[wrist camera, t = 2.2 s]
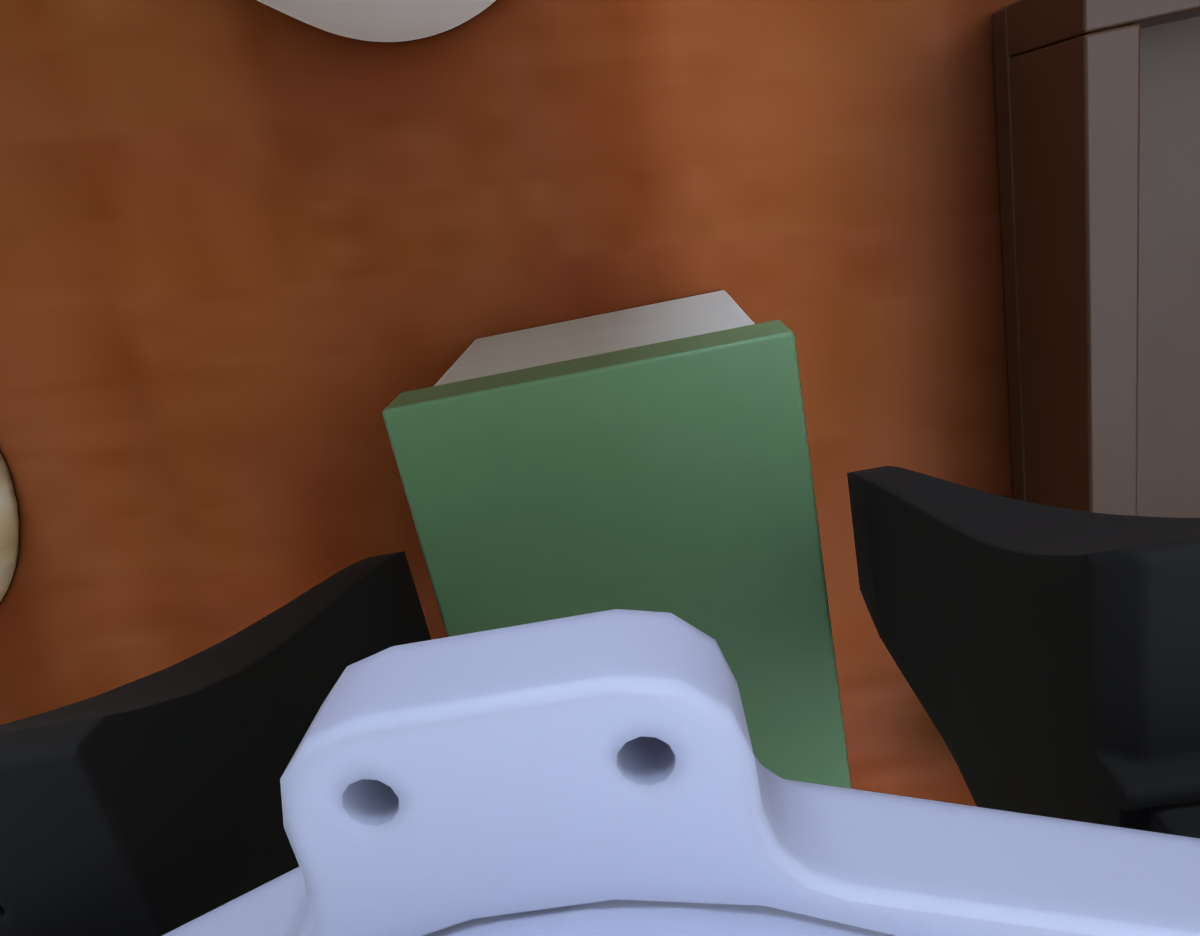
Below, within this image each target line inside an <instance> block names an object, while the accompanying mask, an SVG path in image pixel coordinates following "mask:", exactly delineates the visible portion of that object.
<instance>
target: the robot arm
mask: <svg viewBox="0 0 1200 936" xmlns="http://www.w3.org/2000/svg"><path fill="white" fill-rule="evenodd" d="M847 476H848V485H849V494H850V503H851V512H852V521H853V530H854V539H855V548H856V557H857V566H858V576H859V585H860V590H861V593H862V595H863V598H864V600H865V603H866V605H867V608H868V610H869V612H870V615H871V617H872V620H873V622H874V624H875V626H876V629H877V631H878V633H879V636H880V638H881V639H882V641H883V643H884V644H885V646H886V648H887V649H888V651H889V653H890V654H891V656H892V657H893V659H894V661H895V662H896V664H897V666H898V667H899V669H900V670H901V672H902V674H903V675H904V677H905V678H906V680H907V682H908V683H909V685H910V686H911V688H912V690H913V691H914V693H915V694H916V696H917V698H918V699H919V701H920V702H921V704H922V706H923V707H924V709H925V710H926V712H927V714H928V715H929V717H930V718H931V720H932V722H933V723H934V725H935V726H936V728H937V730H938V731H939V733H940V734H941V736H942V738H943V739H944V741H945V743H946V745H947V746H948V748H949V750H950V752H951V754H952V755H953V757H954V759H955V761H956V763H957V765H958V767H959V769H960V771H961V773H962V775H963V778H964V780H965V782H966V784H967V786H968V788H969V790H970V792H971V795H972V797H973V799H974V801H975V803H976V805H977V807H975V806H968V805H961V804H954V803H947V802H940V801H933V800H926V799H919V798H912V797H905V796H898V795H891V794H884V793H877V792H870V791H863V790H856V789H849V788H842V787H835V786H828V785H821V784H814V783H807V782H800V781H793V780H786V779H783V778H780V777H779V776H777V775H776V774H774V773H773V772H771V771H770V770H768V769H767V768H765V767H764V766H762V765H761V764H760V762H759V761H758V759H757V758H756V756H755V755H754V753H753V749H752V745H751V740H750V736H749V732H748V727H747V723H746V719H745V714H744V710H743V706H742V701H741V697H740V693H739V688H738V684H737V681H736V679H735V677H734V675H733V673H732V671H731V669H730V667H729V665H728V663H727V661H726V660H725V658H724V656H723V654H722V652H721V650H720V648H719V646H718V644H717V642H716V640H715V639H713V638H711V637H710V636H708V635H706V634H705V633H703V632H702V631H700V630H698V629H697V628H695V627H693V626H692V625H690V624H689V623H687V622H685V621H684V620H682V619H680V618H679V617H677V616H675V615H674V614H672V613H668V612H653V611H638V610H623V609H613V610H607V611H601V612H595V613H589V614H583V615H577V616H571V617H565V618H559V619H553V620H547V621H541V622H535V623H529V624H523V625H517V626H511V627H505V628H499V629H493V630H487V631H481V632H475V633H469V634H463V635H457V636H451V637H445V638H439V639H433V640H431V637H430V634H429V631H428V627H427V624H426V621H425V618H424V614H423V611H422V608H421V604H420V601H419V598H418V594H417V591H416V588H415V585H414V581H413V578H412V575H411V571H410V568H409V565H408V561H407V558H406V555H405V552H404V551H403V552H398V553H392V554H386V555H381V556H375V557H369V558H366V559H364V560H361V561H358V562H356V563H354V564H352V565H350V566H348V567H347V568H345V569H343V570H341V571H339V572H338V573H336V574H334V575H333V576H331V577H329V578H328V579H326V580H324V581H323V582H321V583H320V584H318V585H316V586H315V587H313V588H312V589H310V590H308V591H307V592H305V593H304V594H302V595H300V596H299V597H297V598H296V599H294V600H292V601H291V602H289V603H288V604H286V605H284V606H283V607H281V608H279V609H278V610H276V611H274V612H273V613H271V614H269V615H268V616H266V617H264V618H262V619H261V620H259V621H257V622H256V623H254V624H252V625H250V626H249V627H247V628H245V629H244V630H242V631H240V632H238V633H237V634H235V635H233V636H231V637H230V638H228V639H226V640H224V641H222V642H220V643H218V644H216V645H214V646H212V647H210V648H208V649H207V650H204V651H202V652H200V653H198V654H196V655H194V656H192V657H190V658H188V659H186V660H183V661H181V662H179V663H177V664H175V665H173V666H170V667H168V668H166V669H164V670H161V671H159V672H156V673H154V674H151V675H149V676H146V677H144V678H141V679H139V680H136V681H133V682H131V683H128V684H126V685H123V686H121V687H118V688H116V689H113V690H111V691H108V692H106V693H103V694H100V695H97V696H95V697H92V698H89V699H86V700H83V701H80V702H77V703H74V704H71V705H68V706H65V707H61V708H58V709H55V710H52V711H48V712H45V713H42V714H39V715H35V716H32V717H29V718H25V719H21V720H18V721H14V722H11V723H7V724H3V725H0V936H1200V518H1173V517H1148V516H1131V515H1114V514H1104V513H1094V512H1086V511H1079V510H1072V509H1065V508H1058V507H1051V506H1045V505H1040V504H1034V503H1029V502H1025V501H1020V500H1016V499H1012V498H1007V497H1003V496H999V495H994V494H991V493H987V492H983V491H979V490H976V489H972V488H969V487H965V486H962V485H958V484H955V483H952V482H948V481H945V480H942V479H938V478H935V477H932V476H928V475H925V474H922V473H918V472H915V471H911V470H907V469H903V468H899V467H893V466H885V467H879V468H873V469H868V470H862V471H856V472H851V473H847Z"/></svg>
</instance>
